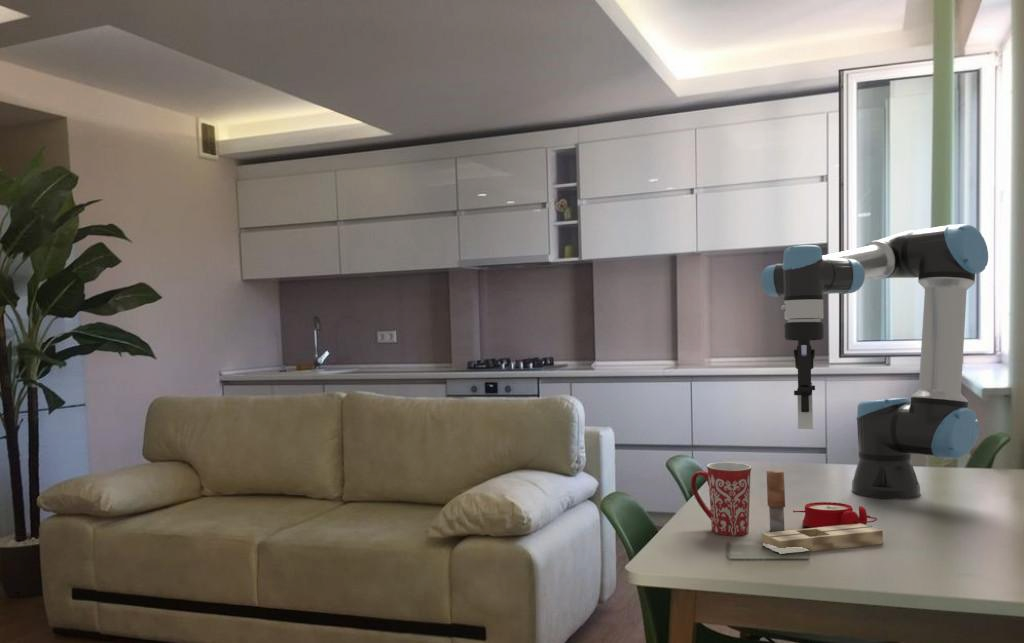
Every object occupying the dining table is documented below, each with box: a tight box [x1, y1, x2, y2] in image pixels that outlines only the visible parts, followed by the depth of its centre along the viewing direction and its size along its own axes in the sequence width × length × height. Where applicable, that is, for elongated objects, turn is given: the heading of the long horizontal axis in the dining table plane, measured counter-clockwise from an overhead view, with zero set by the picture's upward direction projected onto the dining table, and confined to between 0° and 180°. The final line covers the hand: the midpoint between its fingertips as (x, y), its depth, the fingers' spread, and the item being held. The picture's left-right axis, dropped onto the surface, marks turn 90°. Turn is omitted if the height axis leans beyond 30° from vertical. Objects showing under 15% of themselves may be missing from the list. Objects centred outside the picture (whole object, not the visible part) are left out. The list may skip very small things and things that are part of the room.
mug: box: [690, 461, 752, 537], centre depth 160 cm, size 13×9×14 cm
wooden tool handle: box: [766, 469, 786, 532], centre depth 158 cm, size 3×3×12 cm
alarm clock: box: [792, 501, 878, 528], centre depth 158 cm, size 10×6×15 cm
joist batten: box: [761, 522, 884, 553], centre depth 147 cm, size 22×6×3 cm, turn 104°
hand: (805, 425), depth 158 cm, fingers open, 13 cm apart
